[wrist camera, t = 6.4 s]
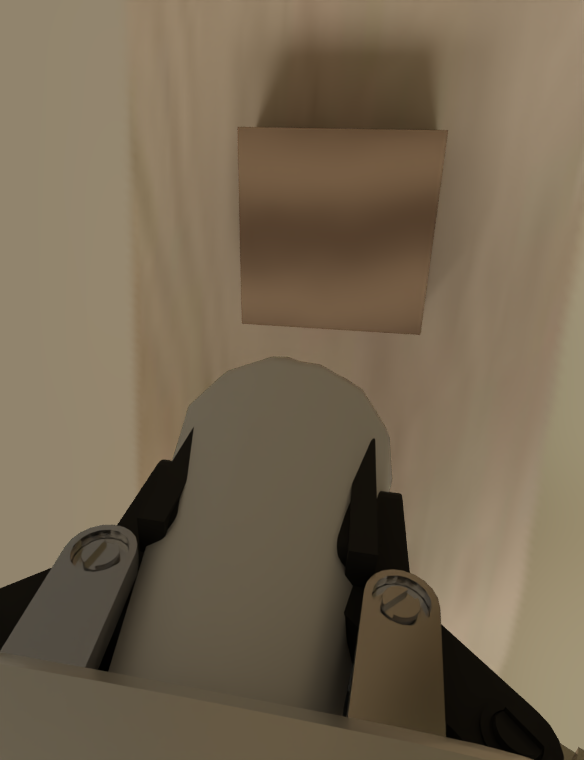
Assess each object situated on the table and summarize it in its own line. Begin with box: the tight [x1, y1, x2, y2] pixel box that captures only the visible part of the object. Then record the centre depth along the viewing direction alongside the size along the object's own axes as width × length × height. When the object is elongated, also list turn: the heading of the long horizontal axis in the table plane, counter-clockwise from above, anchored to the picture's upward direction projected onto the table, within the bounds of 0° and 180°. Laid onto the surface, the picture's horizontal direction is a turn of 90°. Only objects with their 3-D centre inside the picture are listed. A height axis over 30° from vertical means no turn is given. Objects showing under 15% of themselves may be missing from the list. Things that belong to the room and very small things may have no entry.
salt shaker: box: [108, 357, 392, 716], centre depth 10 cm, size 6×6×13 cm
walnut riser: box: [238, 127, 448, 335], centre depth 27 cm, size 10×10×4 cm
